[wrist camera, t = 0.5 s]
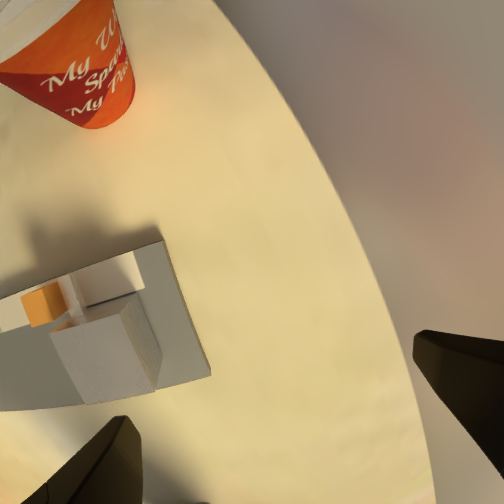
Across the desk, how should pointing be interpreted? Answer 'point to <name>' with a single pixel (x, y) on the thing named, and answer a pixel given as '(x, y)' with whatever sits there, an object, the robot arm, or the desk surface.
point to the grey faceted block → (106, 346)
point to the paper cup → (67, 58)
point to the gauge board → (93, 292)
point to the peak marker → (44, 304)
